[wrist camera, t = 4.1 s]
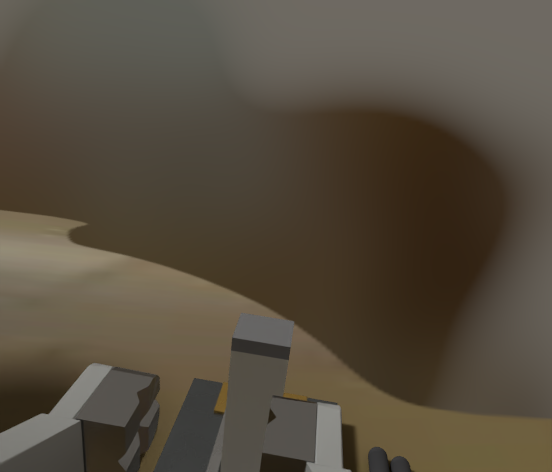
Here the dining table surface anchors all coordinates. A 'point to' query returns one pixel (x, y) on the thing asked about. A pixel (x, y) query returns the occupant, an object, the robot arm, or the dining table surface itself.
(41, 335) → the dining table surface
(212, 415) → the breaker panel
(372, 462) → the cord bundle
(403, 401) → the dining table surface
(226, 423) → the knob
